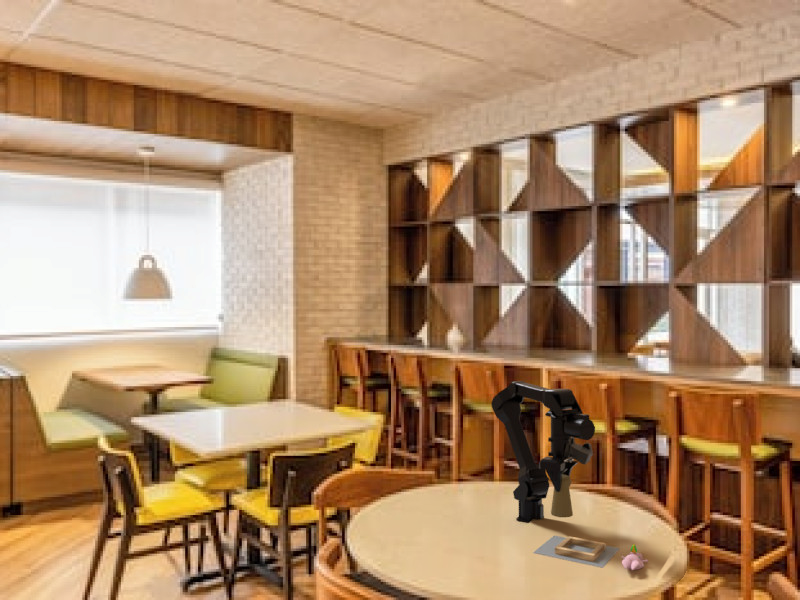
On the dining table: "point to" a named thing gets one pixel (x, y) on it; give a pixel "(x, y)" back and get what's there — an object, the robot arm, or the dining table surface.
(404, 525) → the dining table surface
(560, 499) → the tan tapered cylinder
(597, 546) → the snap socket
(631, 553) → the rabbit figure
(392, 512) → the dining table surface
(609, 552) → the grey base plate
